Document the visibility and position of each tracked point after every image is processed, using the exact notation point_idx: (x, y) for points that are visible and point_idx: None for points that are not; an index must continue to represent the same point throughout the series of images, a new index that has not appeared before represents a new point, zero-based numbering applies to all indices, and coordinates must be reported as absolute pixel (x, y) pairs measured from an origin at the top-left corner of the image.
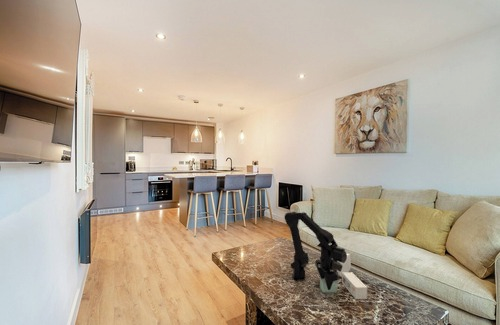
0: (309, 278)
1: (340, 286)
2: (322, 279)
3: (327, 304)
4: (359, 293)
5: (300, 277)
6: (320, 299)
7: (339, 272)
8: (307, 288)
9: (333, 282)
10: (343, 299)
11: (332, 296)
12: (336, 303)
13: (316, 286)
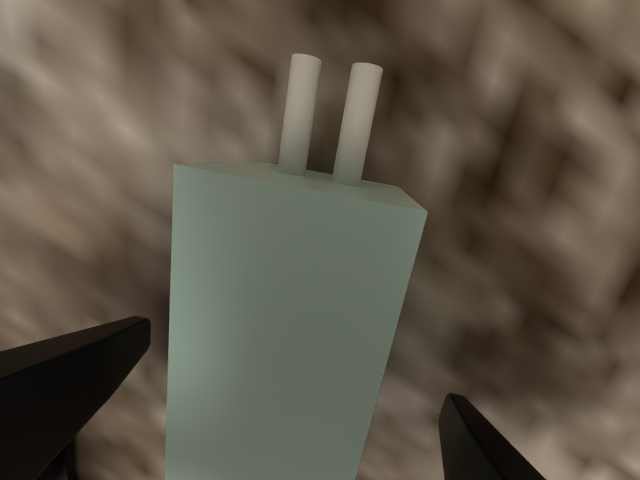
0: (26, 343)
1: (378, 85)
2: (195, 457)
3: (595, 465)
4: None
5: (38, 477)
6: None
7: None
8: None
9: (372, 307)
10: (593, 194)
11: (460, 308)
12: (632, 356)
13: None
